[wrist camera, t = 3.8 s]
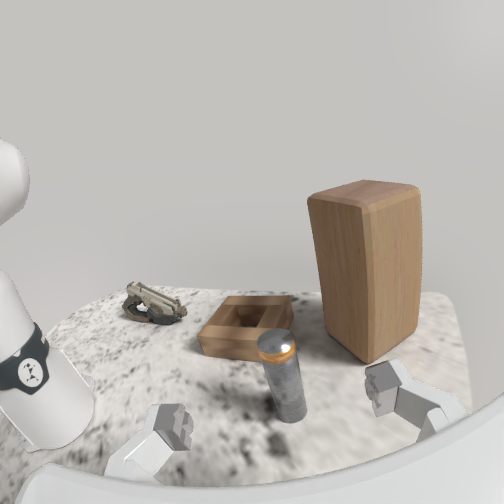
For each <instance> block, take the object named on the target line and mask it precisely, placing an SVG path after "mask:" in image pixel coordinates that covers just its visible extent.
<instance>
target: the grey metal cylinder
mask: <svg viewBox="0 0 504 504" xmlns="http://www.w3.org/2000/svg"><path fill="white" fill-rule="evenodd" d="M257 349H258V352H259V356H260V358H261V360H262V364H263V367H264V370H265V374H266V377H267V380H268V384H269V387H270V390H271V393H272V397H273V400H274V403H275V406H276V410H277V413H278V416H279V418H280V419H281V420H282V421H283V422H286V423H295V422H298V421H300V420H302V419H303V418H304V417H305V415H306V413H307V407H306V401H305V396H304V390H303V385H302V379H301V374H300V368H299V363H298V358H297V352H296V344H295V339H294V336H293V334H292V333H291V332H290V331H289V330H286V329H281V328H278V329H272V330H269V331H266V332H265V333H263V334H262V335H261V336H260V337H259V338H258V340H257Z"/></svg>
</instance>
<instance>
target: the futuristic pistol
mask: <svg viewBox="0 0 504 504" xmlns="http://www.w3.org/2000/svg"><path fill="white" fill-rule="evenodd" d="M127 293H128V294H129V295H128V298H127V299H126V301H125V302H124V304H123V305H122V308H123V309H124V311H125V312H126V313H127V316H128V317H129V318H130V319H131V320H135V321H140V322H149V321H150V320H153V321H154V323H157V324H161V325H170V324H172V323H173V322H175V321H176V320H177V318H178V317H180V318H182V317H184V316H186V315H187V311H186V308H185V307H184V308H183V307H181V302H180V301H179V300H180V299H174V298H172V297H169V296H167V295H165V294H163V293H161V292H159V291H156V290H154V289H152V288H150V287H148V286H145V285H144V284H142V283H140V282H137V281H135V282H132V283H129V285H127ZM142 302H143V305H144V306H147V307H148V310H147V312H145V311H139V310H138V309H137V305H140V304H141V303H142ZM132 303H133V304H132Z"/></svg>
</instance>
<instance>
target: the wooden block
mask: <svg viewBox="0 0 504 504" xmlns="http://www.w3.org/2000/svg"><path fill="white" fill-rule="evenodd" d="M307 205H308V210H309V216H310V222H311V227H312V233H313V239H314V245H315V252H316V258H317V265H318V271H319V279H320V286H321V294H322V302H323V310H324V318H325V327H326V330H327V332H328V333H329V334H330V335H331V336H332V337H333V338H335V339H336V340H337V341H338V342H339V343H341V344H342V345H343V346H344V347H346V348H347V349H348V350H349V351H350V352H352V353H353V354H354V355H355V356H356V357H358V358H359V359H360V360H361V361H363V362H364V363H367V364H369V363H372V362H374V361H375V360H377V359H378V358H380V357H381V356H382V355H384V354H385V353H387V352H388V351H390V350H391V349H392V348H394V347H395V346H396V345H398V344H399V343H401V342H402V341H403V340H405V339H406V338H407V337H409V336H410V335H411V334H412V333H414V331H415V330H416V328H417V324H418V315H419V305H420V293H421V276H422V213H421V195H420V191H419V188H417V187H415V186H413V185H409V184H401V183H392V182H382V181H371V180H361V181H357V182H353V183H350V184H346V185H342V186H339V187H335V188H332V189H328V190H325V191H321V192H318V193H314V194H313V195H311V196H310V197H308V200H307Z"/></svg>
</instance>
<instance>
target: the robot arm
mask: <svg viewBox="0 0 504 504" xmlns="http://www.w3.org/2000/svg"><path fill="white" fill-rule="evenodd" d="M29 183H30V177H29V170H28V166H27V163H26V161H25V158H24V157H23V155H22V153H21V152H20V151H19V150H18V149H17V148H16V147H15V146H13V145H12V144H10V143H8V142H6V141H4V140H3V139H1V138H0V226H1V225H2V224H3V223H5V222H6V221H7V220H9V219H10V218H11V217H12V216H14V215H15V214H16V213H18V212H19V211H20V210H21V209H23V207H24V205H25V202H26V200H27V196H28V192H29ZM365 375H366V377H367V378H366V380H365V389H366V393H367V396H368V398H369V399H370V400H371V401H372V408H373V410H374V413H375V415H376V417H379V416H382V415H385V414H388V413H391V412H395V413H396V414H398V415H399V416H401V417H402V418H404V419H406V420H407V421H409V422H410V423H412V424H413V425H415V426H417V427H418V428H420V429H421V431H420V434H419V436H418V439H417V441H416V443H415V444H412V445H410V446H408V447H405V448H403V449H400V450H398V451H395V452H393V453H390V454H387V455H385V456H382V457H379V458H376V459H373V460H370V461H367V462H364V463H361V464H358V465H354V466H351V467H347V468H344V469H340V470H336V471H332V472H328V473H324V474H319V475H315V476H310V477H305V478H300V479H294V480H288V481H281V482H274V483H266V484H256V485H245V486H227V487H186V486H169V485H162V484H161V483H160V482H159V481H158V480H157V479H155V478H154V475H155V474H156V473H157V472H158V471H159V469H160V468H161V467H162V466H163V464H164V463H165V462H166V461H167V459H168V458H169V457H170V456H171V454H172V453H173V452H174V451H185V450H190V447H191V440H192V439H191V438H190V436H189V435H190V434H191V433H192V432H193V420H192V417H191V416H190V414H189V413H187V412H185V407H184V405H183V404H152V405H151V406H150V408H149V411H148V414H147V417H146V421H145V424H144V427H143V430H140V431H139V432H137V433H136V434H135V435H134V436H133V437H132V438H131V439H130V440H128V441H127V442H126V443H125V444H124V445H123V446H122V447H120V448H119V449H118V450H117V451H116V452H115V453H114V454H112V455H111V456H110V457H109V460H108V463H107V466H106V469H105V472H104V475H103V476H100V475H96V474H91V473H87V472H84V471H80V470H76V469H73V468H69V467H66V466H63V465H59V464H56V463H53V462H49V463H46V464H44V465H43V466H41V467H40V468H38V469H37V470H35V471H34V472H32V473H31V474H30V475H29V476H28V477H27V478H26V480H25V481H24V483H23V485H22V487H21V489H20V491H19V493H18V495H17V497H16V500H15V502H14V504H504V392H503V393H502V394H501V395H499V396H498V397H496V398H495V399H494V400H492V401H491V402H489V403H488V404H486V405H485V406H483V407H482V408H480V409H478V410H477V411H475V412H474V413H472V414H470V415H468V413H467V412H466V410H465V408H464V407H463V405H462V404H461V402H460V401H459V399H458V398H457V396H454V395H452V394H449V393H447V392H444V391H442V390H440V389H437V388H435V387H433V386H430V385H428V384H425V383H423V382H421V381H419V380H413V379H412V378H411V376H410V374H409V373H408V371H407V370H406V368H405V366H404V365H403V363H402V362H401V360H400V359H399V358H398V357H395V358H392V359H390V360H387V361H384V362H381V363H378V364H375V365H372V366H369V367H366V369H365ZM94 387H95V380H94V379H93V378H92V377H91V376H86V375H81V374H80V373H79V372H78V371H77V369H76V368H75V367H74V365H73V364H72V363H71V361H70V360H69V359H68V357H67V356H66V354H65V353H64V352H63V351H62V350H61V349H57V348H52V347H50V346H49V343H48V341H47V340H46V338H45V335H44V334H43V332H42V330H40V328H39V327H38V325H37V324H36V323H35V322H33V321H32V319H31V317H30V315H29V314H28V312H27V310H26V308H25V306H24V304H23V302H22V300H21V297H20V296H19V293H18V291H17V289H16V287H15V284H14V282H13V280H12V279H11V278H10V276H9V275H8V274H7V273H5V272H4V271H2V270H0V410H1V411H2V412H3V413H4V414H5V415H6V417H7V418H8V419H9V420H10V421H11V423H12V424H13V425H14V427H15V430H16V433H17V435H18V438H19V440H20V443H21V445H22V447H23V448H24V450H25V451H26V452H34V451H37V450H39V449H48V450H51V449H57V448H61V447H63V446H66V445H67V444H69V443H71V442H72V441H74V440H75V439H76V438H77V437H78V436H79V435H80V434H81V433H82V432H83V431H84V430H85V428H86V427H87V425H88V424H89V422H90V420H91V418H92V415H93V411H94V398H93V390H94Z"/></svg>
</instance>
